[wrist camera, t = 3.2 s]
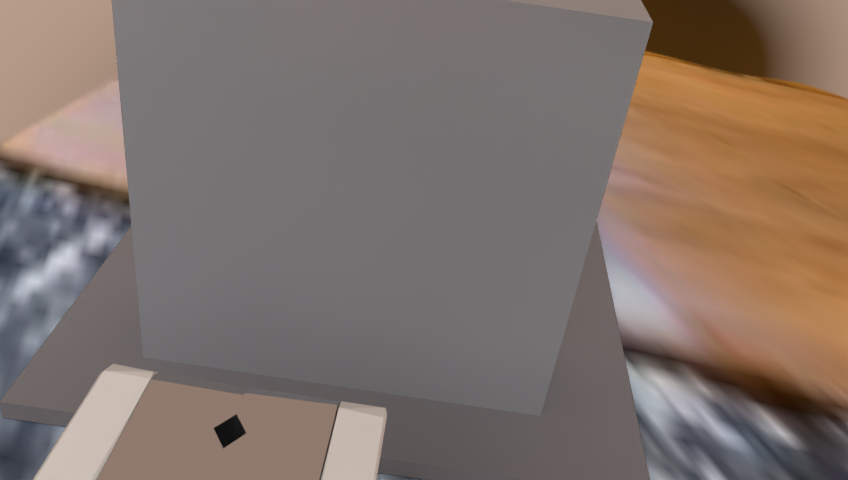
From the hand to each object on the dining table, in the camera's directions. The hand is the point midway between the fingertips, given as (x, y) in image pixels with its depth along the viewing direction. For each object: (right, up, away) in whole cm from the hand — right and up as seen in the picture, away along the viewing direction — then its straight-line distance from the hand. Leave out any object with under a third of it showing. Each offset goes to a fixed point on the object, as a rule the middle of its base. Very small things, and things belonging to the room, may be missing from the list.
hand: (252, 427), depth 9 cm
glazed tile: (0, -1, +16) cm, 16 cm away
